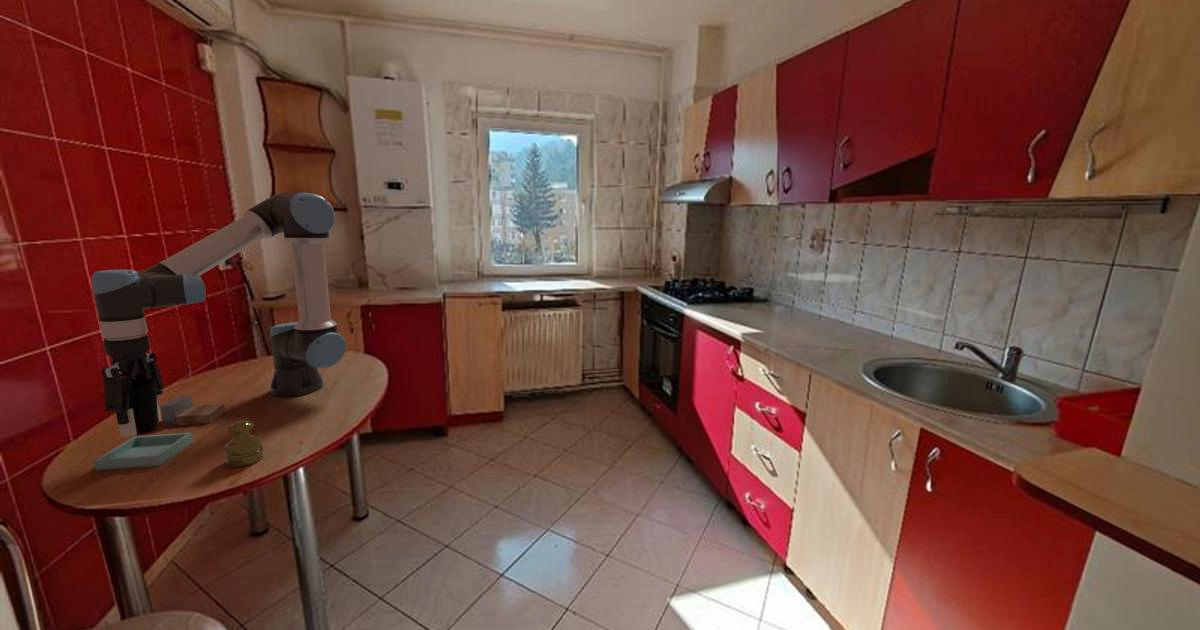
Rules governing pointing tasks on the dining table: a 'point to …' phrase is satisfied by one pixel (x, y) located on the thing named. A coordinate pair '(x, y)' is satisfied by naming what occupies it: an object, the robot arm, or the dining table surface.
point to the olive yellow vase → (243, 445)
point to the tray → (144, 451)
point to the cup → (144, 406)
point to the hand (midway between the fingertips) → (142, 427)
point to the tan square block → (200, 414)
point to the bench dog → (175, 409)
